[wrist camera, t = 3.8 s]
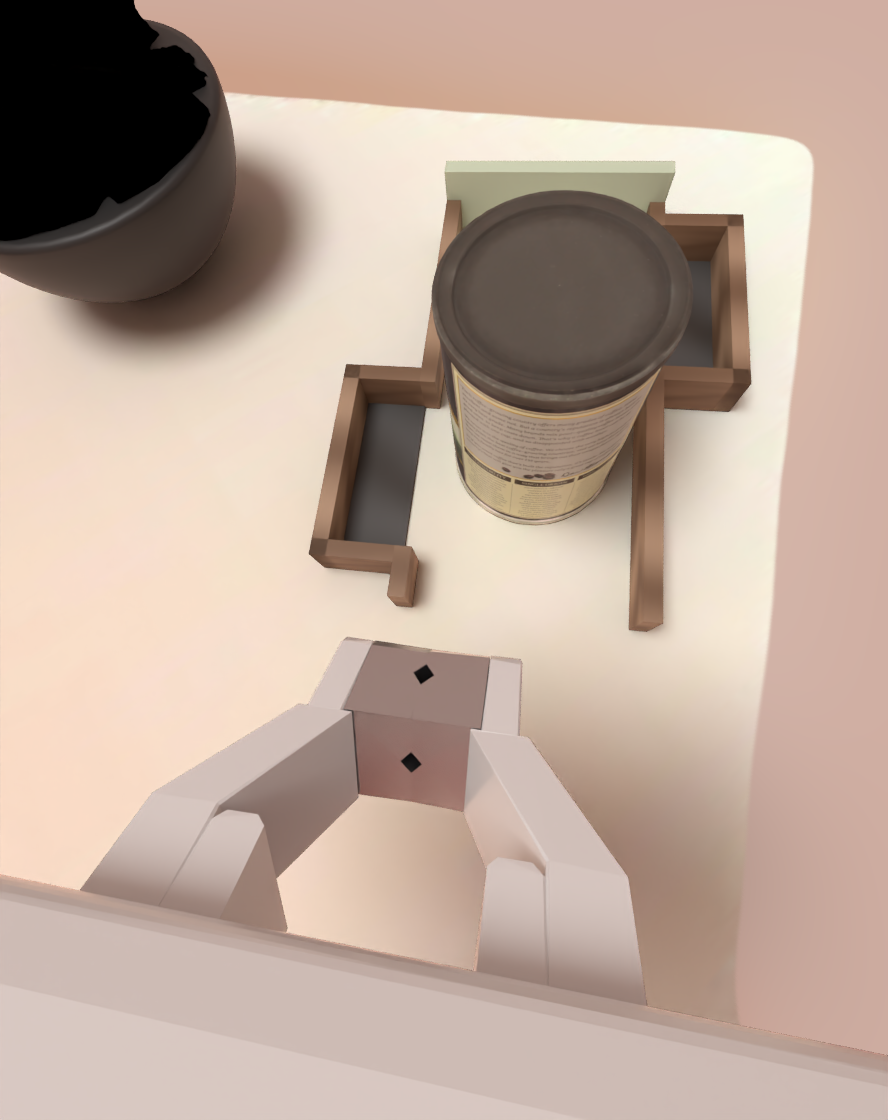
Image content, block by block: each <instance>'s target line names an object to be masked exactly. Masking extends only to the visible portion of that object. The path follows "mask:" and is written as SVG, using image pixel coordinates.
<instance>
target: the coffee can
mask: <svg viewBox="0 0 888 1120" xmlns="http://www.w3.org/2000/svg"><path fill="white" fill-rule="evenodd" d="M692 303H693V284H692V277H691V271H690V268H689V265H688V262H687V259H686V257H685V255H684V253H683V251H682V249H681V248H680V246H679V244H678V243H677V242H676V240H675V239H674V237H673V236H672V235H671V234H670V233H669V232H668V231H667V230H666V229H665V228H664V227H663V226H662V225H661V224H660V223H659V222H658V221H656V220H655V219H654V218H653V217H651V216H650V215H649V214H647V213H646V212H644V211H643V210H641V209H639V208H637V207H636V206H634V205H632V204H630V203H627V202H625V201H623V200H620V199H617V198H615V197H611V196H607V195H603V194H598V193H593V192H587V191H575V190H553V191H543V192H537V193H532V194H527V195H524V196H520V197H517V198H514V199H511V200H509V201H506V202H504V203H501V204H499V205H497V206H495V207H493V208H491V209H489V210H487V211H486V212H485V213H483V214H482V215H480V216H478V217H477V218H475V219H474V220H473V221H472V222H470V223H469V224H468V225H467V226H466V227H465V228H464V229H463V230H462V231H461V232H460V233H459V234H458V235H457V236H456V237H455V238H454V239H453V241H452V242H451V243H450V245H449V246H448V248H447V249H446V251H445V253H444V255H443V256H442V258H441V260H440V262H439V264H438V266H437V269H436V273H435V276H434V281H433V285H432V311H433V319H434V323H435V328H436V332H437V335H438V337H439V340H440V346H441V353H442V360H443V367H444V374H445V381H446V388H447V394H448V400H449V407H450V414H451V422H452V429H453V436H454V444H455V451H456V453H455V456H456V465H457V470H458V473H459V476H460V479H461V481H462V483H463V485H464V487H465V489H466V490H467V492H468V493H469V495H470V496H471V497H472V498H473V499H474V500H475V501H476V502H477V503H478V504H479V505H480V506H481V507H483V508H484V509H485V510H487V511H488V512H490V513H492V514H493V515H495V516H497V517H500V518H502V519H505V520H508V521H511V522H514V523H519V524H531V525H539V524H548V523H553V522H556V521H560V520H563V519H565V518H568V517H570V516H572V515H574V514H576V513H578V512H580V511H581V510H582V509H583V508H585V507H586V506H587V505H589V504H590V503H591V502H592V501H593V500H594V499H595V498H596V497H597V495H598V494H599V493H600V491H601V490H602V488H603V487H604V485H605V483H606V480H607V478H608V476H609V473H610V470H611V468H612V466H613V464H614V463H615V461H616V459H617V457H618V455H619V453H620V450H621V448H622V447H623V445H624V443H625V441H626V439H627V437H628V435H629V433H630V431H631V429H632V427H633V424H634V423H635V421H636V419H637V417H638V415H639V413H640V411H641V409H642V407H643V405H644V404H645V402H646V399H647V397H648V395H649V394H650V392H651V390H652V388H653V385H654V383H655V381H656V380H657V378H658V376H659V373H660V371H661V369H662V367H663V365H664V364H665V363H666V361H667V360H668V359H669V358H670V356H671V355H672V354H673V352H674V350H675V349H676V347H677V345H678V344H679V342H680V340H681V338H682V336H683V334H684V332H685V329H686V327H687V325H688V322H689V318H690V315H691V309H692Z"/></svg>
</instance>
